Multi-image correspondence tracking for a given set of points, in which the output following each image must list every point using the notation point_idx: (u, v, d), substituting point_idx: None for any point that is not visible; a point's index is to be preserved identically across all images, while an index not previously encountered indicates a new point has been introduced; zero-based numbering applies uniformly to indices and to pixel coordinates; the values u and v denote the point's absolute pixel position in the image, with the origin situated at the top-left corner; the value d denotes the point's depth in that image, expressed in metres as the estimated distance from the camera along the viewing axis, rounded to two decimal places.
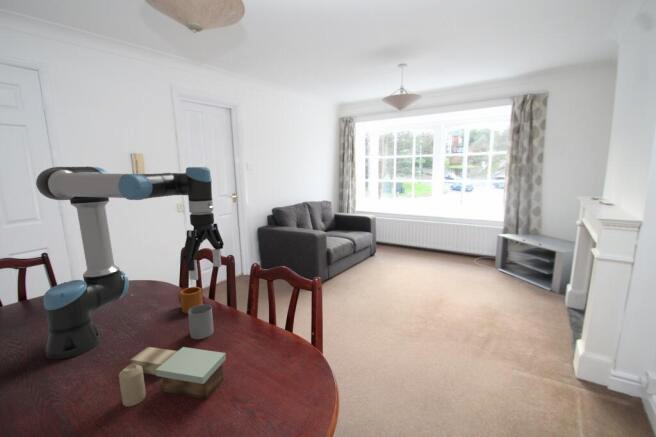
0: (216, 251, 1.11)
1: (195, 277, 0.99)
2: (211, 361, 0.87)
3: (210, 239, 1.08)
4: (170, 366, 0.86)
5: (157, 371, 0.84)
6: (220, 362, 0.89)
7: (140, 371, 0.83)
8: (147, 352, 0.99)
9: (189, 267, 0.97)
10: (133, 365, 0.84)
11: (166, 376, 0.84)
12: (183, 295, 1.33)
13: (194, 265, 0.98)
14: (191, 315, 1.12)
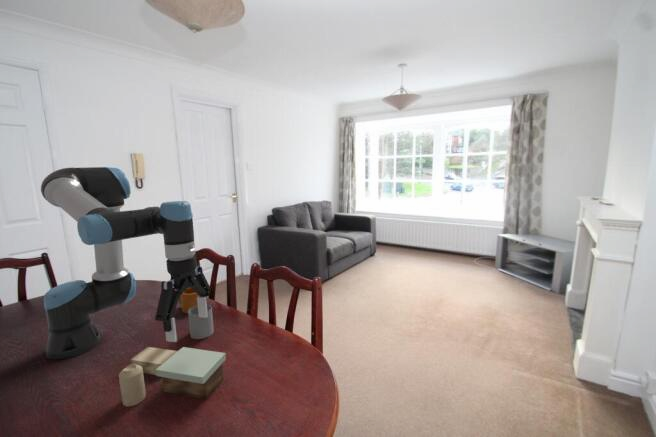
0: (201, 299, 0.92)
1: (173, 339, 0.80)
2: (211, 361, 0.87)
3: (193, 286, 0.89)
4: (170, 366, 0.86)
5: (157, 371, 0.84)
6: (220, 362, 0.89)
7: (140, 371, 0.83)
8: (147, 352, 0.99)
9: (165, 327, 0.78)
10: (133, 365, 0.84)
11: (166, 376, 0.84)
12: (183, 295, 1.33)
13: (171, 324, 0.79)
14: (191, 315, 1.12)
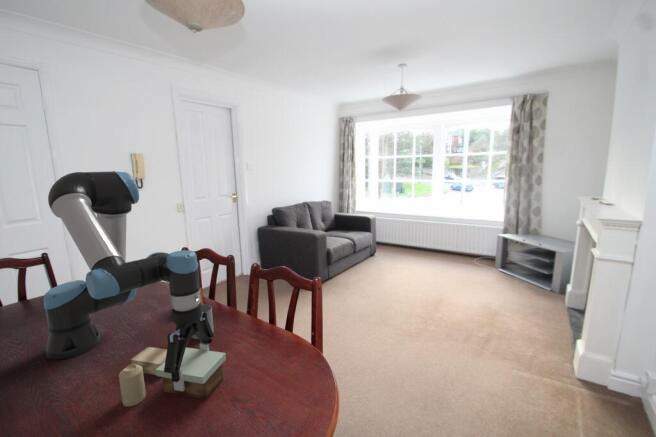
0: (204, 346, 0.93)
1: (181, 388, 0.82)
2: (211, 361, 0.87)
3: (197, 333, 0.90)
4: None
5: (157, 371, 0.84)
6: (220, 362, 0.89)
7: (140, 371, 0.83)
8: (147, 352, 0.99)
9: (173, 378, 0.81)
10: (133, 365, 0.84)
11: (166, 376, 0.84)
12: None
13: (179, 374, 0.82)
14: None
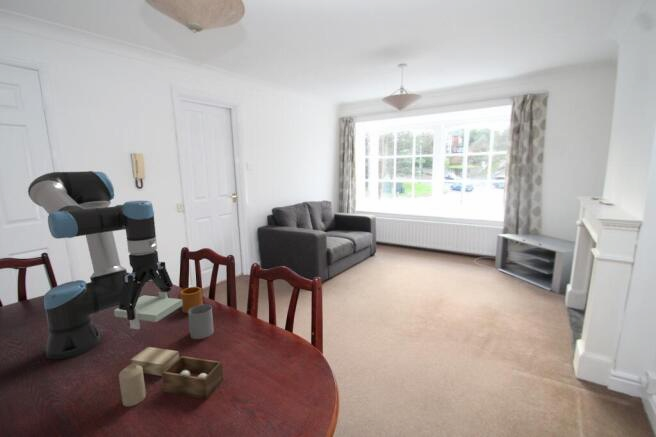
0: (162, 294, 1.00)
1: (136, 326, 0.89)
2: (166, 305, 0.94)
3: (155, 280, 0.96)
4: None
5: (115, 312, 0.91)
6: (176, 306, 0.96)
7: (140, 371, 0.83)
8: (147, 352, 0.99)
9: (128, 316, 0.87)
10: (133, 365, 0.84)
11: (123, 316, 0.90)
12: (183, 295, 1.33)
13: (135, 313, 0.88)
14: (191, 315, 1.12)
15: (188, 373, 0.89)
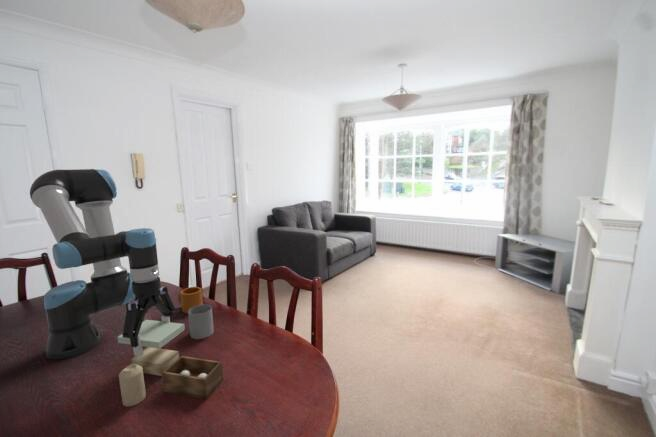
0: (165, 318, 1.01)
1: (139, 353, 0.90)
2: (169, 330, 0.95)
3: (157, 305, 0.98)
4: None
5: (119, 338, 0.92)
6: (178, 331, 0.97)
7: (140, 371, 0.83)
8: (147, 352, 0.99)
9: (132, 343, 0.89)
10: (133, 365, 0.84)
11: (127, 343, 0.92)
12: (183, 295, 1.33)
13: (138, 340, 0.90)
14: (191, 315, 1.12)
15: (188, 373, 0.89)
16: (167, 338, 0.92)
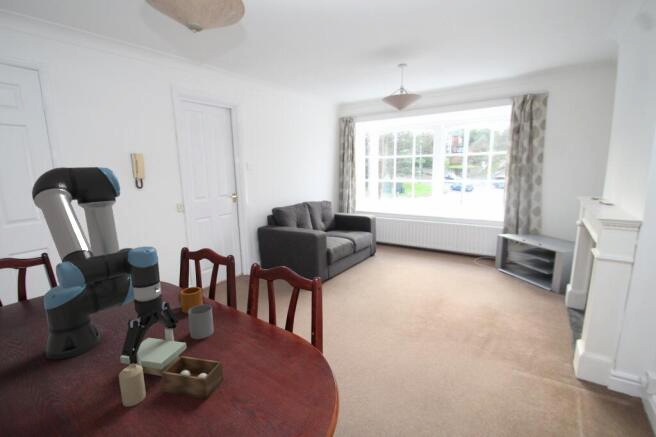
0: (168, 331, 1.03)
1: None
2: (171, 350, 0.97)
3: (160, 321, 0.99)
4: None
5: (121, 358, 0.93)
6: (180, 351, 0.98)
7: (140, 371, 0.83)
8: None
9: (131, 361, 0.89)
10: (133, 365, 0.84)
11: (129, 363, 0.93)
12: (183, 295, 1.33)
13: (137, 358, 0.90)
14: (191, 315, 1.12)
15: (188, 373, 0.89)
16: (169, 358, 0.93)
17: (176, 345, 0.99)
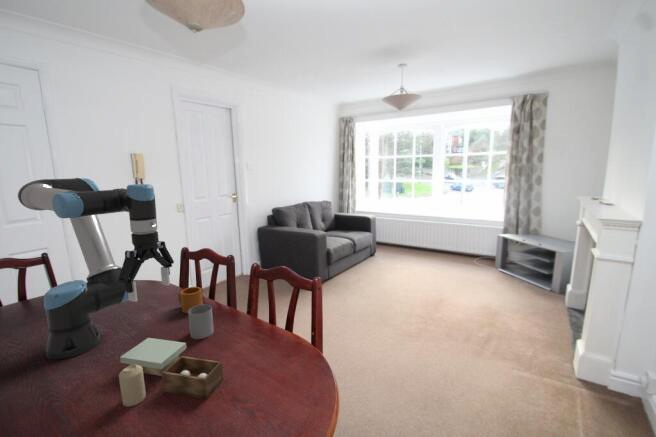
0: (164, 269, 1.08)
1: (134, 299, 0.95)
2: (171, 350, 0.97)
3: (156, 258, 1.04)
4: (134, 354, 0.95)
5: (121, 358, 0.93)
6: (180, 351, 0.98)
7: (140, 371, 0.83)
8: None
9: (127, 289, 0.94)
10: (133, 365, 0.84)
11: (129, 363, 0.93)
12: (183, 295, 1.33)
13: (132, 287, 0.95)
14: (191, 315, 1.13)
15: (188, 373, 0.89)
16: (169, 358, 0.93)
17: (176, 345, 0.99)
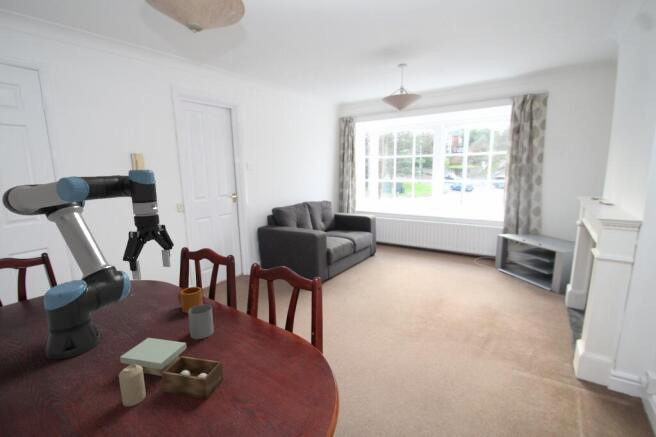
0: (165, 252, 1.14)
1: (138, 277, 1.01)
2: (171, 350, 0.97)
3: (157, 240, 1.10)
4: (134, 354, 0.95)
5: (121, 358, 0.93)
6: (180, 351, 0.98)
7: (140, 371, 0.83)
8: None
9: (131, 267, 1.00)
10: (133, 365, 0.84)
11: (129, 363, 0.93)
12: (183, 295, 1.33)
13: (136, 265, 1.00)
14: (191, 315, 1.13)
15: (188, 373, 0.89)
16: (169, 358, 0.93)
17: (176, 345, 0.99)
